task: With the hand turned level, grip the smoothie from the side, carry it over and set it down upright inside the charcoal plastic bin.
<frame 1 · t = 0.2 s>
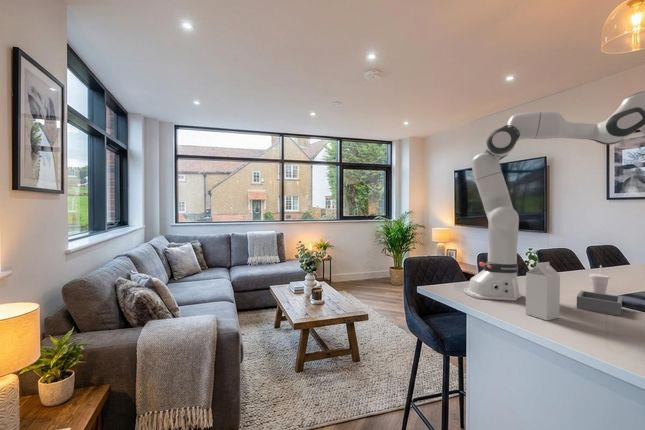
bin: (599, 308, 116), on the table
milk carton: (542, 316, 108), on the table
smoothie: (598, 298, 129), on the table
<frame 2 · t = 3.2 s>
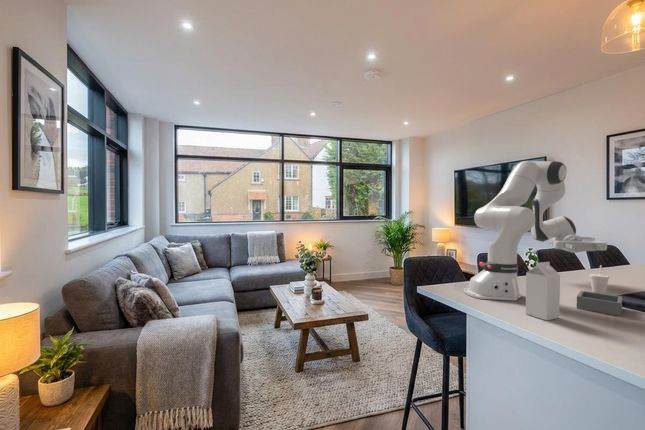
hand: (586, 247, 140), 20 cm above the table, tool horizontal, fingers open, 8 cm apart
nothing on the table moved.
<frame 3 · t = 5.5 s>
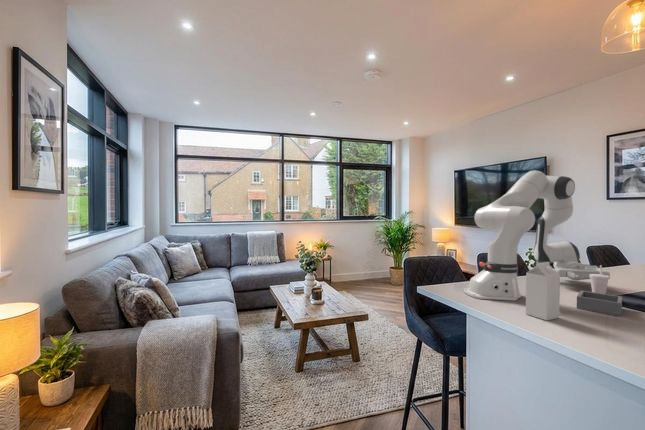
hand: (588, 276, 137), 7 cm above the table, tool horizontal, fingers open, 8 cm apart
nothing on the table moved.
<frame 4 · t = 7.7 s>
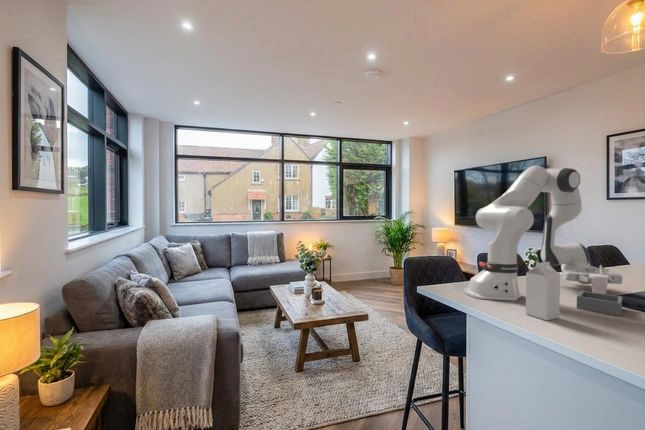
hand: (600, 280, 128), 8 cm above the table, tool horizontal, fingers closed on smoothie, 6 cm apart
smoothie: (598, 298, 129), on the table, touching gripper
everything else where it was.
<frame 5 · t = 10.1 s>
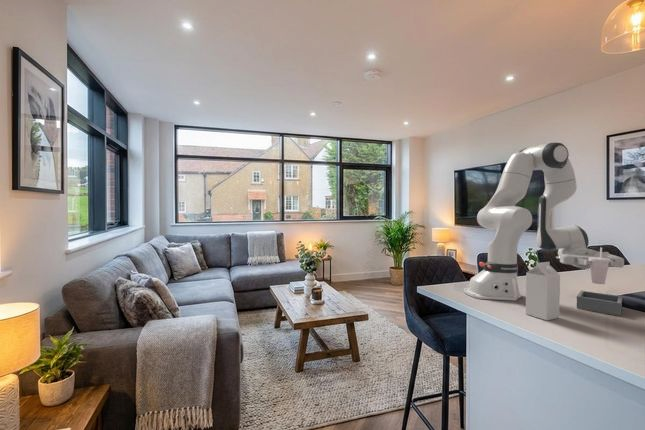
hand: (600, 263, 119), 17 cm above the table, tool horizontal, fingers closed on smoothie, 6 cm apart
smoothie: (598, 283, 120), point 9 cm above the table, touching gripper
everything else where it was.
when the fingers open (10 cm above the table, at t = 12.7 s): smoothie drops 1 cm, resting on bin.
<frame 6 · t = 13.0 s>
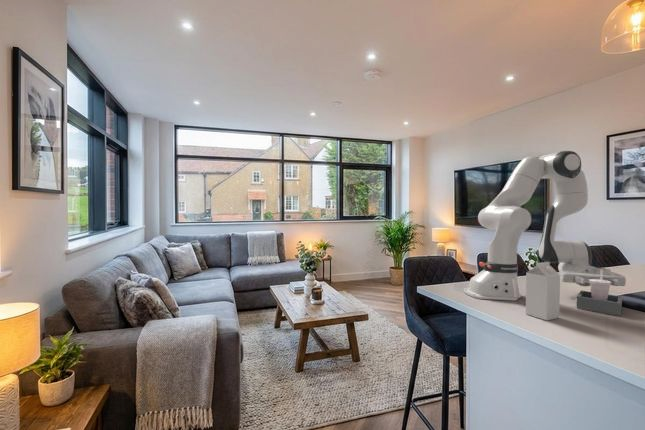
hand: (600, 282, 115), 10 cm above the table, tool horizontal, fingers open, 8 cm apart
smoothie: (599, 306, 116), point 1 cm above the table, touching bin
everything else where it was.
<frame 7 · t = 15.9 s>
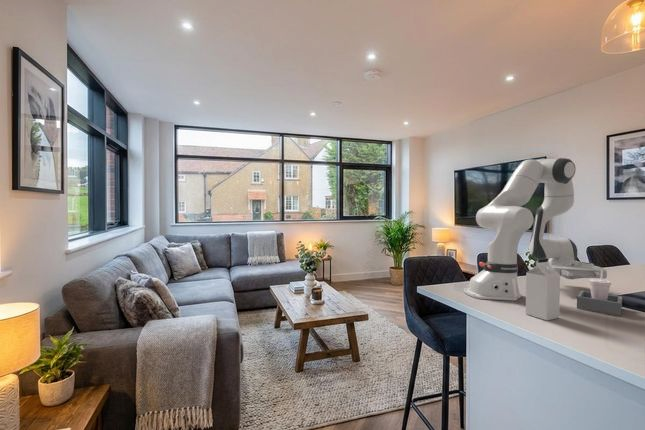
hand: (584, 275, 127), 10 cm above the table, tool horizontal, fingers open, 8 cm apart
nothing on the table moved.
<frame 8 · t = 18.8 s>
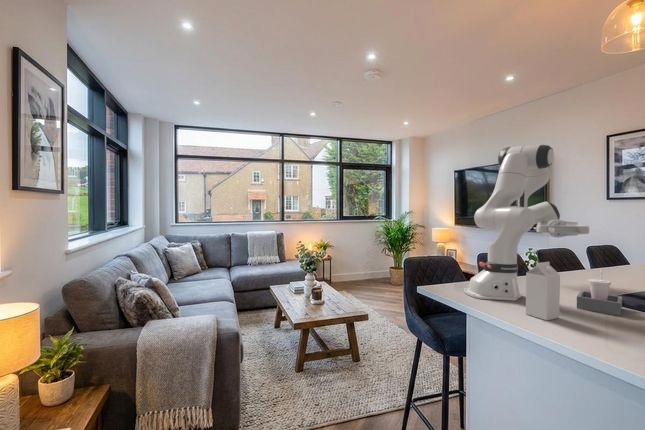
hand: (568, 230, 140), 28 cm above the table, tool horizontal, fingers open, 8 cm apart
nothing on the table moved.
at the end: smoothie inside the target area on the bin (0.0 cm from its centre), point 0.6 cm above the bin's base; smoothie tilted 0°; the gripper is holding nothing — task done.
